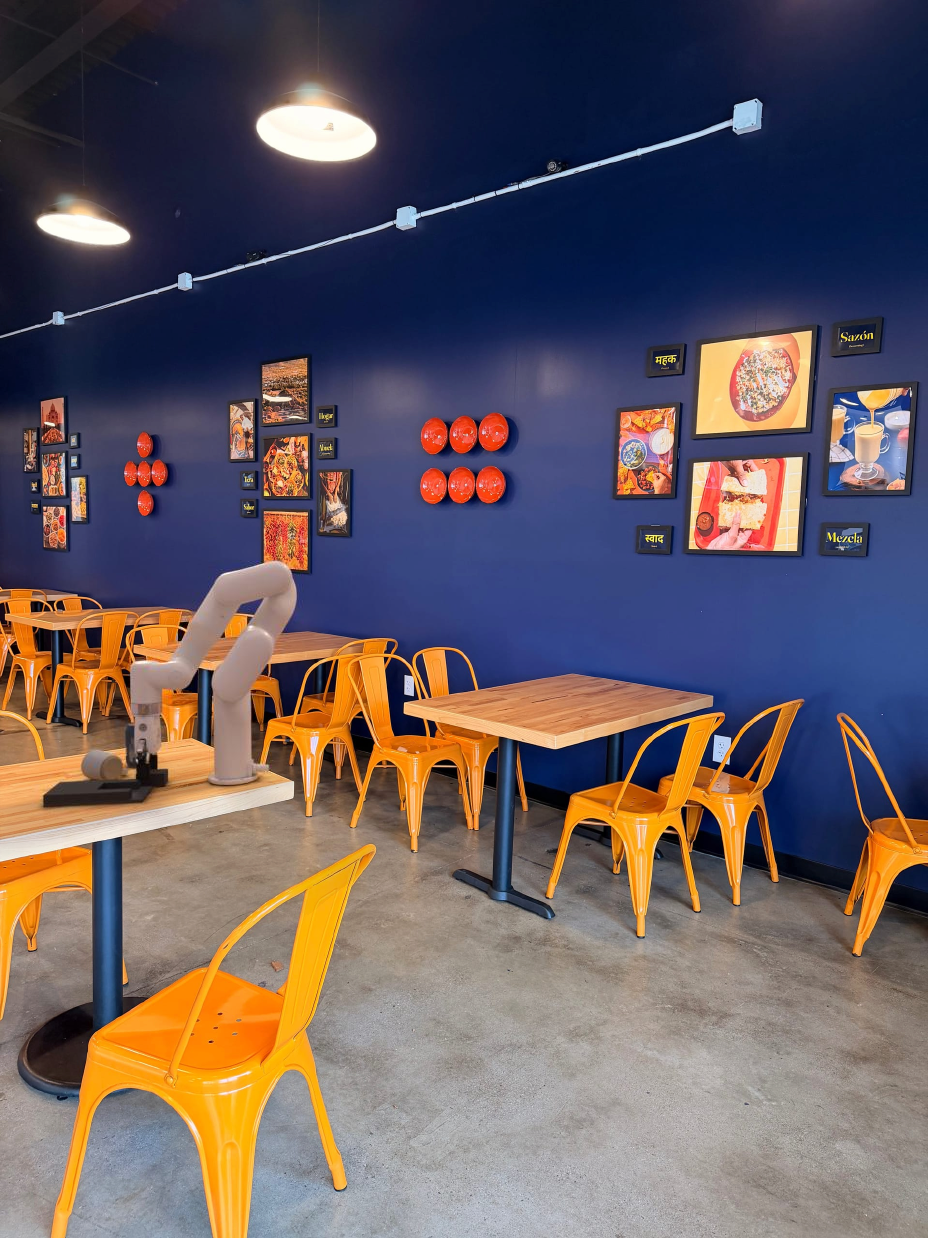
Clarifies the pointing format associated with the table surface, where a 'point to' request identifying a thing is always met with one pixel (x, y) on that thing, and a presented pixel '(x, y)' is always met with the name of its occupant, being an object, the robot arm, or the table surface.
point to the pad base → (96, 792)
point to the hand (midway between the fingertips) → (147, 774)
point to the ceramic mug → (102, 766)
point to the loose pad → (156, 778)
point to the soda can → (130, 745)
